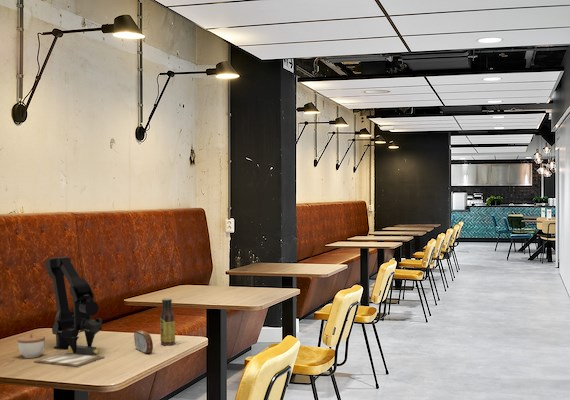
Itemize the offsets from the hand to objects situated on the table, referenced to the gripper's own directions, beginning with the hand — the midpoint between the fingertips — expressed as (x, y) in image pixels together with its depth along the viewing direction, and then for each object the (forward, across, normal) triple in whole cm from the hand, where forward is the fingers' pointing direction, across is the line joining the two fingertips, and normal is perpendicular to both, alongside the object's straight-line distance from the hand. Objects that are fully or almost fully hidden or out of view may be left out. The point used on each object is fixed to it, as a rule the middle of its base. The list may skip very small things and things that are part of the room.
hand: (82, 350), depth 308 cm
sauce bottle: (+2, +27, -24) cm, 36 cm away
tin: (+2, +12, -22) cm, 25 cm away
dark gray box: (+1, 0, 0) cm, 1 cm away
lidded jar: (+2, -11, +17) cm, 20 cm away
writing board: (+1, -11, -3) cm, 11 cm away
